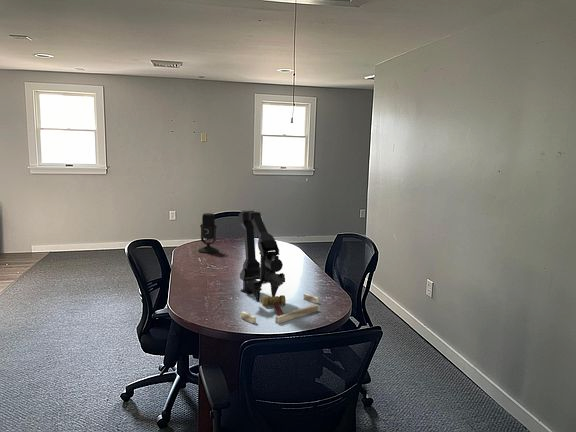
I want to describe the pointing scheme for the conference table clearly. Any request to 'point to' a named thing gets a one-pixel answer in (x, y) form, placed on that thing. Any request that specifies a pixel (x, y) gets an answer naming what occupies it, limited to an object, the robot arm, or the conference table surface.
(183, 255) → the conference table surface
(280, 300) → the gavel
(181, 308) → the conference table surface
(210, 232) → the microphone
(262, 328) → the conference table surface
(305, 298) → the wooden bars
